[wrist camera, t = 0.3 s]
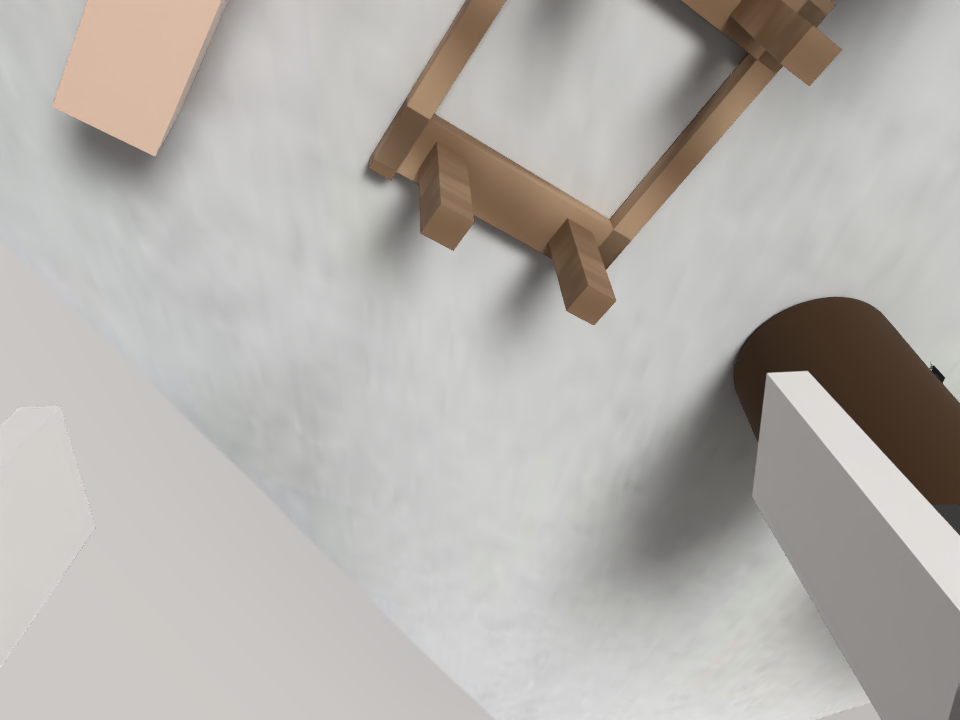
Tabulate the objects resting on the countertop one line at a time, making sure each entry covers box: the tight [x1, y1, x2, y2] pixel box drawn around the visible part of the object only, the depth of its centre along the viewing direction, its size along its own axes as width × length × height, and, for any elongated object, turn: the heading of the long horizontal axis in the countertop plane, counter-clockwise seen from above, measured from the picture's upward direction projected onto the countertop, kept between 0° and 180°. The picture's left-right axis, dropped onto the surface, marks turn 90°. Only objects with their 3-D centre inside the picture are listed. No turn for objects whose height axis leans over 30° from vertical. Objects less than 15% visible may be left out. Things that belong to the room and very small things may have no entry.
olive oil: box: [734, 297, 960, 506], centre depth 39 cm, size 11×11×25 cm
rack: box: [369, 0, 842, 325], centre depth 34 cm, size 17×13×7 cm
